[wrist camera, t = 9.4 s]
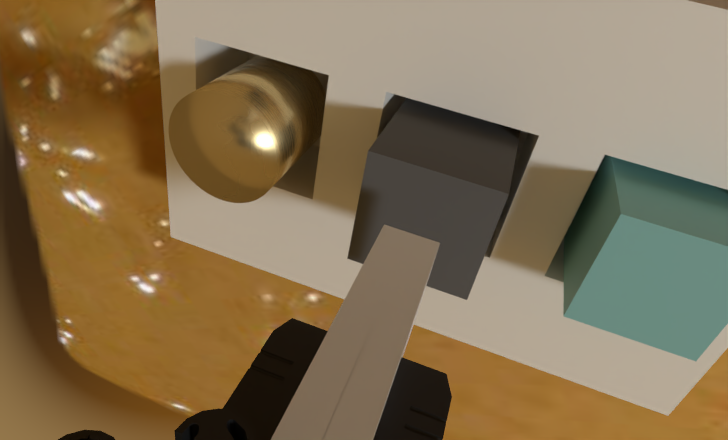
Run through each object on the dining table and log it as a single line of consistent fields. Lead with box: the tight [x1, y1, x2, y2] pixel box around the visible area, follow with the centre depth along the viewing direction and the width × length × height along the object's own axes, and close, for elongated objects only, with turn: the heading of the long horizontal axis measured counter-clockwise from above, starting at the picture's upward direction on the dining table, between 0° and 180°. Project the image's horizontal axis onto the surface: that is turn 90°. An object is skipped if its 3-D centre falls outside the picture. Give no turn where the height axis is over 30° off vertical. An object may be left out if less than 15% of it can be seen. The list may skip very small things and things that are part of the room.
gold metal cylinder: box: [169, 55, 326, 203], centre depth 19 cm, size 4×4×4 cm
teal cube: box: [563, 155, 728, 361], centre depth 17 cm, size 4×4×4 cm
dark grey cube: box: [347, 98, 520, 300], centre depth 17 cm, size 4×4×4 cm
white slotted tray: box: [155, 0, 728, 416], centre depth 20 cm, size 14×22×5 cm, turn 80°
